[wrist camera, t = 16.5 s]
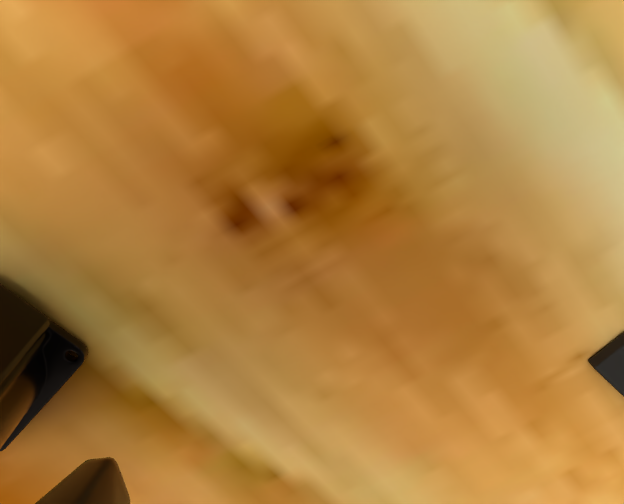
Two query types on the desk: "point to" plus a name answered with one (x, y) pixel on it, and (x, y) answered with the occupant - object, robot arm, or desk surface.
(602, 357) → the desk pad
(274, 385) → the desk surface
